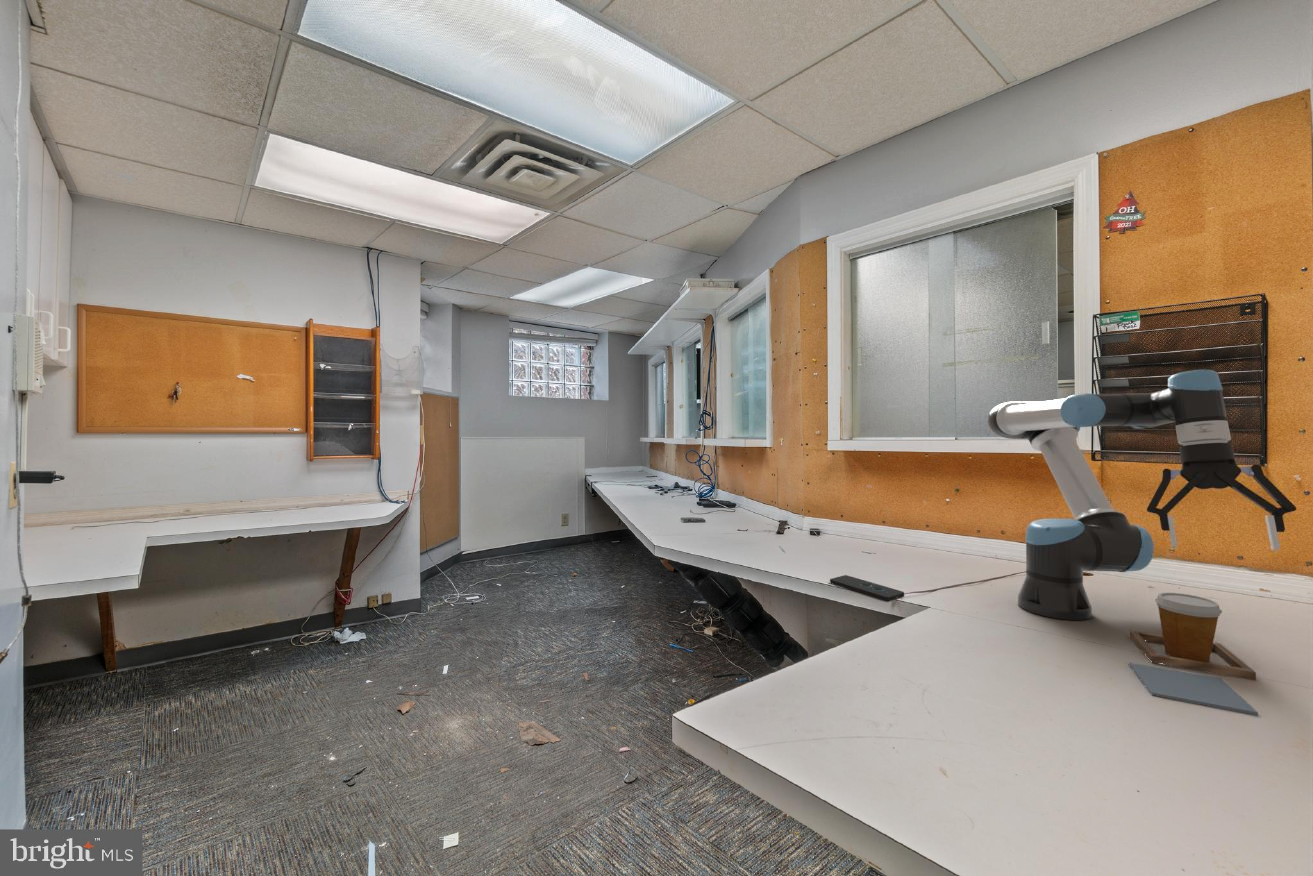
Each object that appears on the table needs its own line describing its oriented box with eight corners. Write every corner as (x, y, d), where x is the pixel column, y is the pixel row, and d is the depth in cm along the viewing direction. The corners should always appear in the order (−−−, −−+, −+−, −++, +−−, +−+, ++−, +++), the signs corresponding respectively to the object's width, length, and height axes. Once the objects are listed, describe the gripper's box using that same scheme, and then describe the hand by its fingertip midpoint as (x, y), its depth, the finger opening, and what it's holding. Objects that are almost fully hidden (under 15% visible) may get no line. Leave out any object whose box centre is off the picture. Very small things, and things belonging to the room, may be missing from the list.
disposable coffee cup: (1189, 647, 108) (1190, 592, 108) (1236, 668, 99) (1237, 608, 99) (1141, 645, 109) (1142, 591, 109) (1183, 666, 100) (1184, 607, 100)
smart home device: (887, 597, 138) (828, 578, 156) (887, 603, 139) (828, 584, 156) (905, 591, 143) (846, 574, 160) (905, 597, 143) (846, 579, 160)
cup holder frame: (1151, 662, 101) (1151, 655, 101) (1129, 636, 114) (1129, 630, 114) (1255, 680, 94) (1256, 672, 94) (1219, 650, 107) (1219, 643, 107)
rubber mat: (1151, 695, 90) (1151, 692, 90) (1128, 664, 101) (1128, 662, 101) (1257, 715, 83) (1258, 712, 83) (1220, 680, 94) (1220, 678, 94)
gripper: (1123, 447, 110) (1137, 546, 106) (1305, 435, 93) (1329, 551, 90) (1123, 451, 115) (1137, 545, 112) (1295, 440, 99) (1317, 550, 95)
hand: (1223, 548), depth 101 cm, fingers open, 13 cm apart
